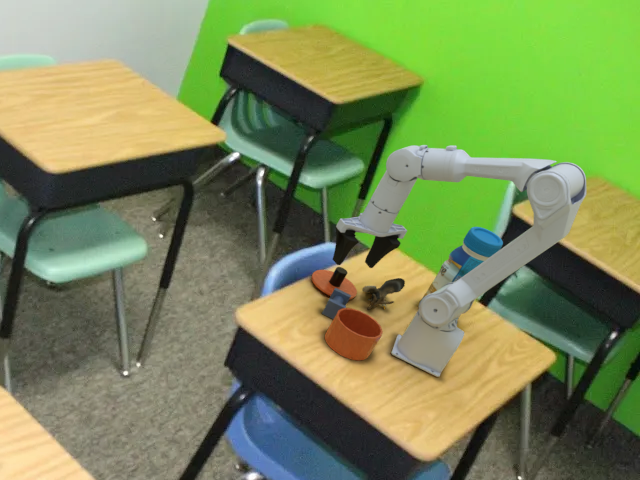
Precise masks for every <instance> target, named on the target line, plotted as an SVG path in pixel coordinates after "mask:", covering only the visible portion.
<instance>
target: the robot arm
mask: <svg viewBox="0 0 640 480" xmlns="http://www.w3.org/2000/svg"><path fill="white" fill-rule="evenodd" d="M557 162H558V161H556V160H552V159H546V158H545V159H544V158H543V159H542V158H524V157H523V158H520V157H514V158H513V157H473V156H472V157H471V156H470V154H468V153H467V152H466V151H465V150H464V149H458V146H457V145H453V144H452V145H447V146H446V147H445V148H439V147H429V146H428V145H427V144H422V145H421V144H420V145H416V144H415V145H414V144H413V145H409V146H405V147H403V148H400V149H396V150H395V151H392V153H390V154H389V156H387V159H386V162H385V168H386V169H385V172H384V173H383V175H382V177H381V178H380V180H379V182H378V184H377V185H376V188H375V189H374V192H373V193H372V195H371V197H370V199H369V201H368V203H367V205H366V206H365V207H364V210H363V212H360V214H359V215H358V216H355V217H350V218H349V217H347V218H339V220H338V221H337V223H336V225H335V246H334V252H333V255H332V256H333V257H332V261H333V262H334V263H335V264H336V265H337V266H341V265H342V264H343V263H344V261H345V259H346V258H347V257H348V254H350V252H351V251H352V250H353V248H354V247H355V246H356V245H357V244H358V243H360V241H359V240H358V239H357V237H356V233H359V234H360V233H361V234H368V235H371V236H374V239H373V242H372V245H371V247H370V249H369V251H368V252H367V255H366V257H365V260H364V263H365V264H366V265H367V267H368V268H370V269H373V268H374V267H376V266H377V264H379V262H380V261H381V260H383V258H384V257H386V256H387V255H388V254H390V253H391V252H393V251H394V250H397V249H399V247H400V246H401V244H402V243H401V241H400V240H404V238H405V236H406V234H407V232H408V229H406V228H405V226H403V225H402V224H397V223H394V222H395V220H396V219H397V217H398V215H399V213H400V211H401V209H402V208H403V206H404V205H405V202H406V201H407V199H408V197H409V195H410V193H411V192H412V189H413V188H414V186H415V184H416V182H417V181H418V179H420V180H422V181H433V182H445V183H460V182H462V180H464V179H465V178H466V177H474V178H484V179H490V180H491V179H492V180H501V181H510V182H512V183H513V185H514V186H515V187H516V188H517V189H518V191H519V192H520V193H523V192H526V194H527V199H528V201H529V205H530V207H531V210H532V212H533V225H532V226H531V227H530V228H528V229H526V231H524V232H522V233H521V234H520V235H519V236H517V237H516V238H514V239H513V240H511V241H510V242H509V243H508V244H506V245H505V246H502V247H501V249H500V250H499V251H498V252H496V253H495V254H494V255H492V256H491V257H489V258H488V259H487V260H485V261H484V262H482V263H481V264H480V265H478V266H477V267H476V268H474V269H473V270H471V271H470V272H469V273H467V274H466V275H464V276H463V277H462V278H460V279H459V280H457V281H456V282H450V283H447V284H445V285H444V286H443V287H442V288H440V289H439V290H437V291H435V292H433V293H431V294H428V295H426V296H425V297H424V298H423V297H422V298H423V299H422V298H421V299H422V300H421V299H420V301H421V302H420V301H419V302H420V306H419V305H418V309H417V311H416V312H415V314H414V316H413V318H412V319H411V321H410V322H409V324H408V325H407V327H406V329H405V331H404V332H403V334H397V335H396V338H395V341H394V343H393V347H392V350H391V355H392V356H394V357H396V358H397V359H400V360H402V361H404V362H406V363H408V364H409V365H412V366H414V367H416V368H418V369H420V370H422V371H424V372H426V373H428V374H430V375H432V376H434V377H436V378H440V376H441V374H442V372H443V370H444V369H445V367H446V366H447V365H448V364H449V362H450V360H451V359H452V357H453V356H454V355H455V353H456V351H457V350H458V348H459V346H460V345H461V343H462V341H463V339H464V336H465V331H464V330H463V329H461V328H460V327H458V320H459V318H457V317H458V316H460V317H461V315H463V314H465V313H467V312H469V311H470V310H471V308H472V306H473V304H474V302H475V301H476V300H477V299H478V298H479V297H481V296H483V294H485V293H486V292H488V291H489V290H491V289H492V288H494V287H495V286H496V285H498V284H499V283H501V282H502V281H504V280H506V278H508V277H509V276H511V275H512V274H514V273H515V272H517V271H518V270H519V269H521V268H522V267H524V266H525V265H526V264H528V263H530V262H531V261H533V260H534V259H535V258H537V257H539V256H540V255H541V254H543V253H544V252H545V251H547V250H548V249H550V248H551V247H553V246H554V245H556V244H557V243H559V242H560V241H562V240H563V239H564V238H566V237H567V236H568V235H569V234H570V231H571V230H572V227H573V225H574V222H575V219H576V217H577V214H578V212H579V210H580V207H581V205H582V203H583V201H584V200H585V198H586V196H587V195H588V194H587V193H588V192H587V176H586V174H585V172H584V170H583V169H582V168H581V167H580V166H579V165H578V164H576V163H573V162H569V161H564V162H559V163H557ZM555 163H556V164H555ZM553 164H555V165H553ZM551 165H553V166H551ZM399 239H400V240H399Z"/></svg>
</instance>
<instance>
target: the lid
mask: <svg viewBox="0 0 640 480" xmlns="http://www.w3.org/2000/svg"><path fill="white" fill-rule="evenodd" d="M347 275H348V270H347V269H346V268H344V267H341V266H337V267H335V269H334V271H331V270H327V269H317V270H315V271H314V272H312V274H311V281H312V284H314V286H315V287H316V288H317V289H318V290H319V291H321V292H322V293H324V294H326V295H327V296H331V294H332V293H333V291H334V289H335V288H337V289H339V290H341V291H343V292H345V293H347V294H350V295H351V297H350V299H349V301H350V300H353V299H355V298H356V296H357V294H358V290H357V287H356V286H355V285H354V283H353V282H351V280H349V279H348V278H347Z"/></svg>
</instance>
